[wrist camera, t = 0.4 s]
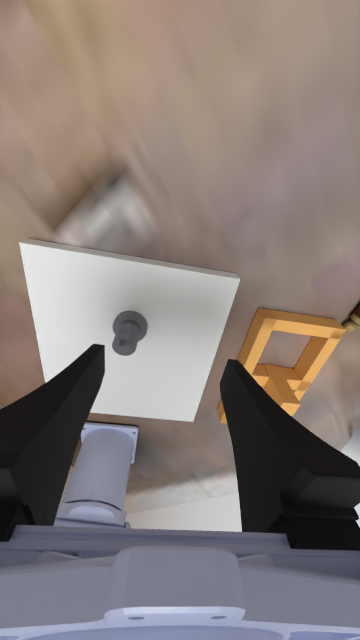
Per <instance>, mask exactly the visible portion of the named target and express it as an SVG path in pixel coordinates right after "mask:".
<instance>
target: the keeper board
mask: <svg viewBox="0 0 360 640" xmlns="http://www.w3.org/2000/svg"><path fill="white" fill-rule="evenodd" d="M19 244H20V249H21V255H22V260H23V265H24V271H25V276H26V281H27V287H28V292H29V298H30V303H31V308H32V314H33V319H34V324H35V330H36V335H37V340H38V346H39V351H40V357H41V362H42V367H43V373H44V378H45V383H46V382H48V381H49V380H51V379H52V378H53V377H55V376H56V375H57V374H58V373H60V372H61V371H62V370H64V369H65V368H66V367H67V366H69V365H70V364H71V363H72V362H73V361H75V360H76V359H77V358H78V357H79V356H80V355H81V354H82V353H84V352H85V351H86V350H87V349H88V348H89V347H90V346H91V345H92V344H101V345H105V374H104V377H103V381H102V384H101V387H100V390H99V392H98V395H97V397H96V399H95V402H94V404H93V406H92V408H91V411H90V412H91V413H102V414H113V415H124V416H135V417H146V418H156V419H167V420H178V421H189V422H193V421H194V418H195V415H196V412H197V409H198V406H199V403H200V400H201V397H202V393H203V390H204V387H205V384H206V381H207V378H208V375H209V372H210V369H211V366H212V363H213V360H214V357H215V354H216V351H217V348H218V345H219V342H220V339H221V336H222V333H223V330H224V327H225V324H226V321H227V318H228V315H229V312H230V309H231V306H232V303H233V300H234V297H235V294H236V291H237V288H238V285H239V282H240V278H239V277H238V275H237V274H235V273H229V272H224V271H218V270H212V269H206V268H200V267H194V266H188V265H182V264H176V263H170V262H164V261H159V260H153V259H147V258H141V257H135V256H129V255H123V254H117V253H111V252H105V251H100V250H94V249H88V248H82V247H76V246H70V245H64V244H58V243H52V242H46V241H41V240H35V239H28V240H25V241H22V242H19Z"/></svg>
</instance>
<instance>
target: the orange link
mask: <svg viewBox="0 0 360 640" xmlns="http://www.w3.org/2000/svg"><path fill="white" fill-rule="evenodd" d="M272 330H276V331H283V332H290V333H297V334H304V335H311V336H312V338H311V340H310V342H309V343H308V345H307V347H306V348H305V350H304V352H303V354H302V355H301V357H300V359H299V360H298V362H297V364H296V365H295V367H294V369H293V368H285V367H278V366H277V365H269V364H263V365H261V364H257V362H258V360H259V358H260V356H261V354H262V351H263V349H264V347H265V345H266V343H267V341H268V339H269V336H270V334H271V332H272ZM345 332H346V329H345V328H344V327H343V326H341V325H340V324H339V323H338V322H337V321H335V320H334V319H328V318H322V317H315V316H309V315H302V314H296V313H289V312H283V311H276V310H270V309H263V308H258V310H257V312H256V315H255V317H254V320H253V322H252V325H251V327H250V330H249V332H248V335H247V337H246V339H245V342H244V344H243V347H242V349H241V352H240V354H239V357H238V359H237V360H239V362H240V363H241V364H242V365H243V366H244V367H245V369H246V370H247V371H248V372H249V373H250V375H251V376H252V377H253V378H254V379H255V380H256V382H257V383H258V384H259V385H260V386H264V389H265V391H266V393H267V394H268V395H269V396H270V397H271V398H272V399H273V400H274V401H275V402H276V403H277V404H278V405H279V406H280V407H281V408H283V409H284V410H285V411H286V412H287V413H288V414H289V415H290V416H293V415H294V413H295V412H296V410H297V409H298V407H299V406H300V403H299V400H300V399H301V397H302V396H303V394H304V393H305V391H306V390H307V388H308V387H309V385H310V384H311V382H312V381H313V379H314V378H315V376H316V375H317V373H318V372H319V370H320V369H321V367H322V366H323V364H324V363H325V362H326V360H327V359H328V357H329V356H330V354H331V353H332V351H333V350H334V348H335V347H336V345H337V344H338V342H339V341H340V339H341V338H342V336H343V335H344V333H345ZM217 410H218V415H219V420H220V423H227V420H226V416H225V412H224V408H223V404H222V399H221V402H220V404H219V407H218V409H217Z"/></svg>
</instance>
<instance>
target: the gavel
mask: <svg viewBox="0 0 360 640" xmlns="http://www.w3.org/2000/svg"><path fill="white" fill-rule="evenodd" d="M350 317H351V321H349V322H346V323H345V324H344V326H343V327H344V328H345V329H346V330H347V331H349V332H350V331H353V330H355V329H356V327H357V326H360V304H359V306H358V307H357V309H356V310H355V312H354V313H353V314H352V315H351V316H350Z"/></svg>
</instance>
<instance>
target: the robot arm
mask: <svg viewBox="0 0 360 640" xmlns="http://www.w3.org/2000/svg"><path fill="white" fill-rule="evenodd" d="M104 374H105V345H101V344H92V345H91V346H90V347H89V348H88V349H87V350H86V351H85V352H84V353H82V354H81V355H80V356H79V357H78V358H77V359H76V360H75V361H73V362H72V363H71V364H70V365H69V366H67V367H66V368H65V369H64V370H62V371H61V372H60V373H58V374H57V375H56V376H55V377H53V378H52V379H51V380H49V381H48V382H46V383H45V384H43V385H42V386H40V387H39V388H37V389H36V390H34V391H33V392H31V393H29V394H28V395H26V396H24V397H22V398H21V399H19V400H17V401H15V402H14V403H12V404H10V405H8V406H6V407H4V408H2V409H0V640H360V528H359V526H358V524H357V522H356V520H358V519H359V516H358V515H357V513H356V511H355V509H354V507H355V506H356V505H357V504H359V503H360V467H359V465H358V464H357V462H356V461H354V460H352V459H351V458H349V457H348V456H346V455H344V454H343V453H341V452H340V451H338V450H336V449H335V448H333V447H332V446H330V445H329V444H327V443H326V442H324V441H323V440H321V439H320V438H319V437H317V436H316V435H314V434H313V433H312V432H310V431H309V430H308V429H306V428H305V427H304V426H303V425H301V424H300V423H299V422H297V421H296V420H295V419H294V418H293V417H291V416H290V415H289V414H288V413H287V412H286V411H285V410H284V409H283V408H281V407H280V406H279V405H278V404H277V403H276V402H275V401H274V400H273V399H272V398H271V397H270V396H269V395H268V394H267V393H266V392H265V391H264V389H263V388H262V387H261V386H260V385H259V384H258V383H257V382H256V380H255V379H254V378H253V377H252V376H251V375H250V373H249V372H248V371H247V370H246V369H245V367H244V366H243V365H242V364H241V363H240V362H239V360H232V359H228V362H227V365H226V367H225V370H224V373H223V376H222V379H221V381H220V391H221V399H222V404H223V408H224V412H225V416H226V420H227V424H228V428H229V432H230V436H231V440H232V445H233V452H234V459H235V466H236V473H237V481H238V491H239V500H240V510H241V522H242V532H224V531H193V530H162V529H131V526H130V523H129V522H125V517H126V512H125V511H123V507H124V501H125V495H126V489H127V482H128V476H129V470H130V464H132V463H134V458H135V451H136V443H137V436H138V427H136V426H125V425H114V424H102V423H91V422H86V420H87V418H88V415H89V413H90V411H91V408H92V406H93V404H94V402H95V399H96V397H97V395H98V392H99V390H100V387H101V384H102V381H103V377H104ZM80 435H81V442H82V446H81V449H80V452H79V454H78V457H77V460H76V463H75V465H74V468H73V471H72V474H71V476H70V480H69V482H68V485H67V488H66V491H65V493H64V496H63V499H62V501H61V503H60V500H61V496H62V493H63V490H64V486H65V483H66V479H67V476H68V473H69V469H70V466H71V463H72V460H73V457H74V453H75V450H76V447H77V444H78V441H79V438H80Z"/></svg>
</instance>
